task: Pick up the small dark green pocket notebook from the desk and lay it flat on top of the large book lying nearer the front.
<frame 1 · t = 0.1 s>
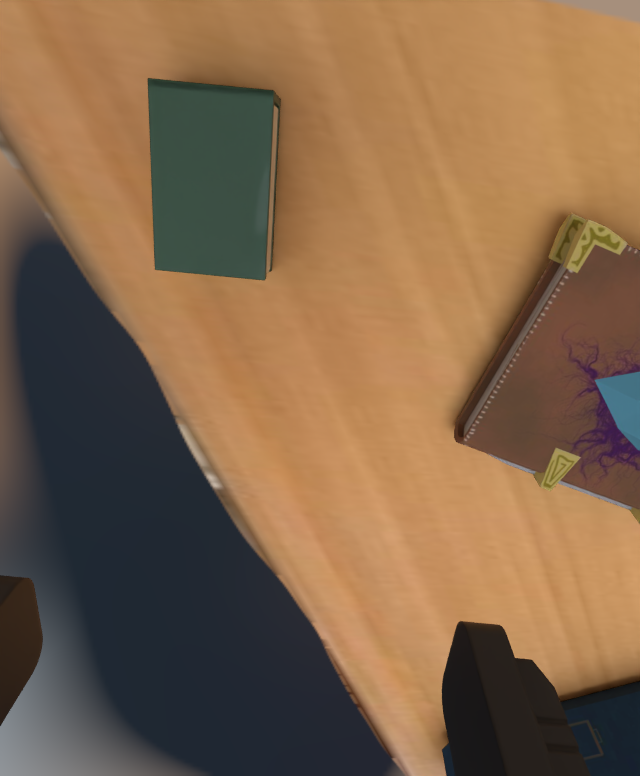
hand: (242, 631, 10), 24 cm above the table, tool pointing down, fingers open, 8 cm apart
radio: (564, 725, 45), on the table
notebook: (222, 184, 29), on the table
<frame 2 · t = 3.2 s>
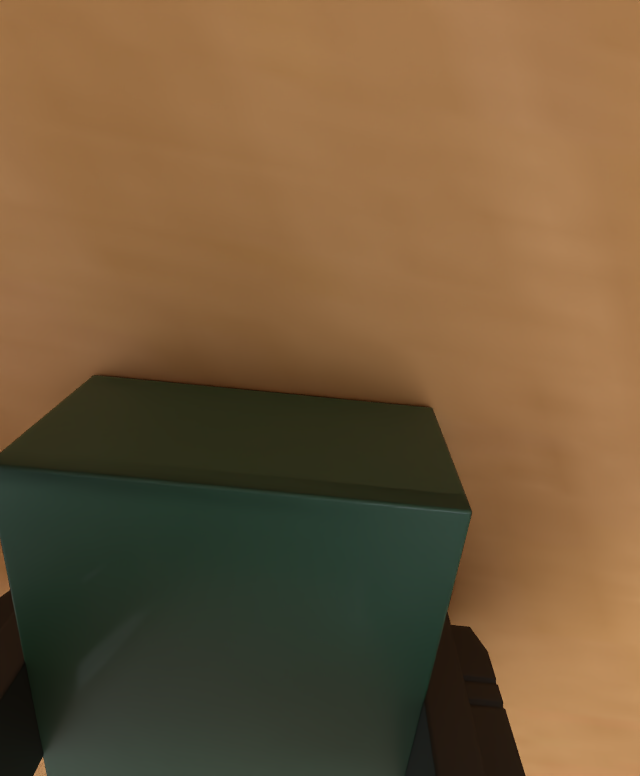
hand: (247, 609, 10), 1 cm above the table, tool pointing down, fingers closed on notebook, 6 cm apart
notebook: (253, 585, 11), on the table, touching gripper
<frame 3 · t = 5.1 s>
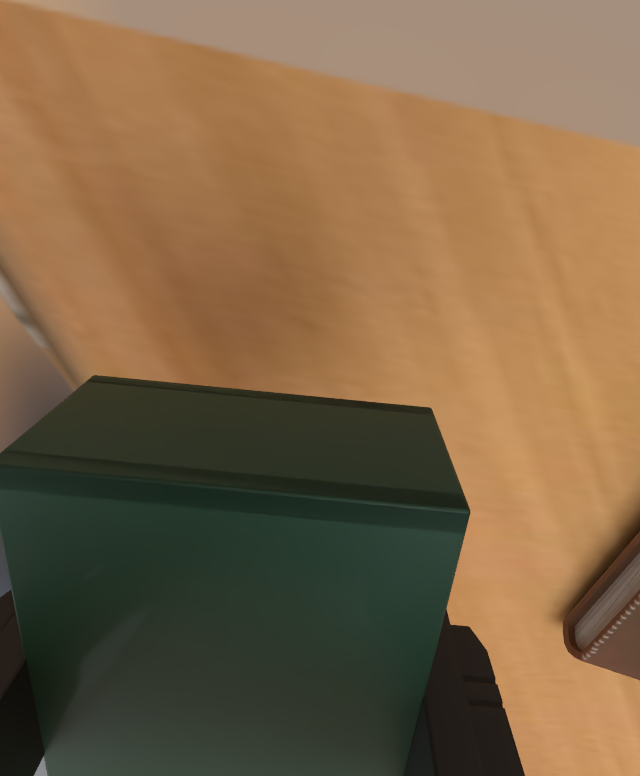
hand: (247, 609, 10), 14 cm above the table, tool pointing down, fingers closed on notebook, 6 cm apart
notebook: (253, 585, 11), point 14 cm above the table, touching gripper
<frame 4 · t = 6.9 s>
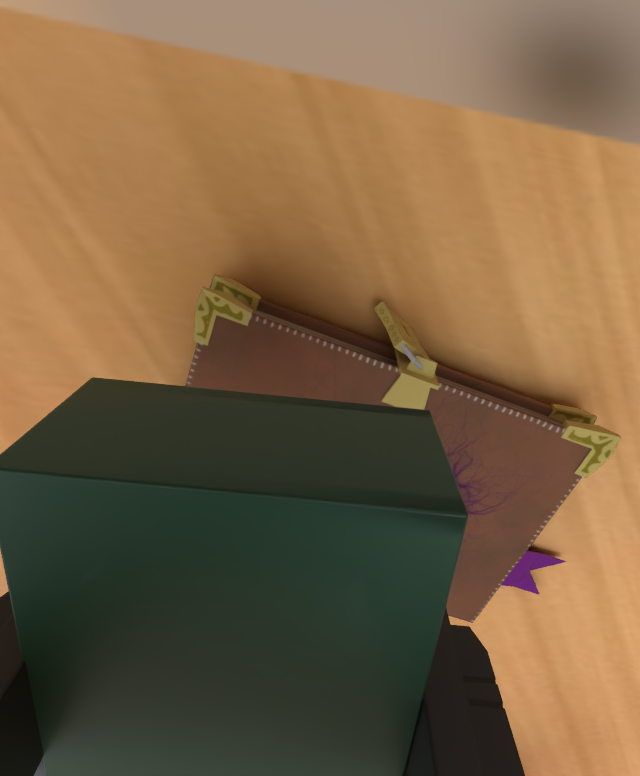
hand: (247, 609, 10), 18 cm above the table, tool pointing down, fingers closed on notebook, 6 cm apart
book: (395, 455, 29), on the table
notebook: (252, 587, 11), point 17 cm above the table, touching gripper
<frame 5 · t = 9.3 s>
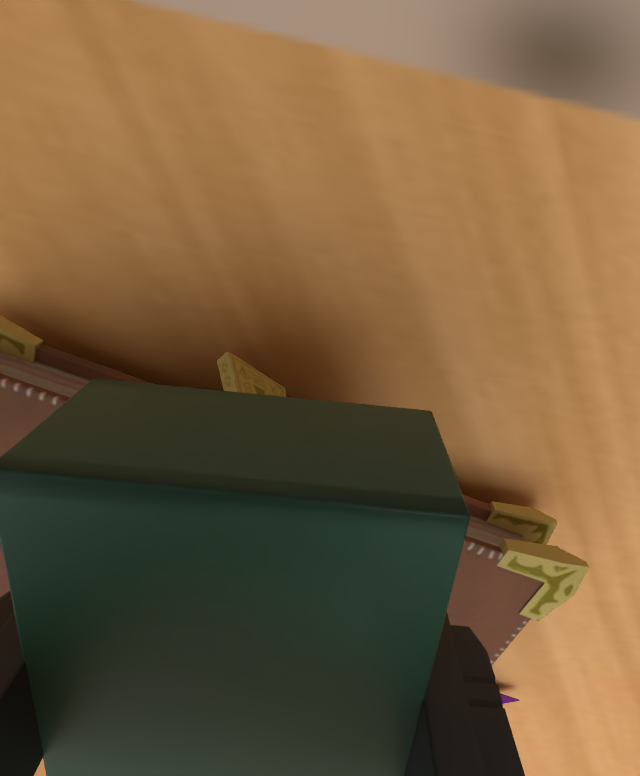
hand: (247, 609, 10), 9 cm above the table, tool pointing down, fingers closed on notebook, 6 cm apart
book: (278, 557, 21), on the table
notebook: (253, 587, 11), point 8 cm above the table, touching gripper
when the fingers open (5 cm above the table, at t = 10.8 s): notebook stays where it is, resting on book.
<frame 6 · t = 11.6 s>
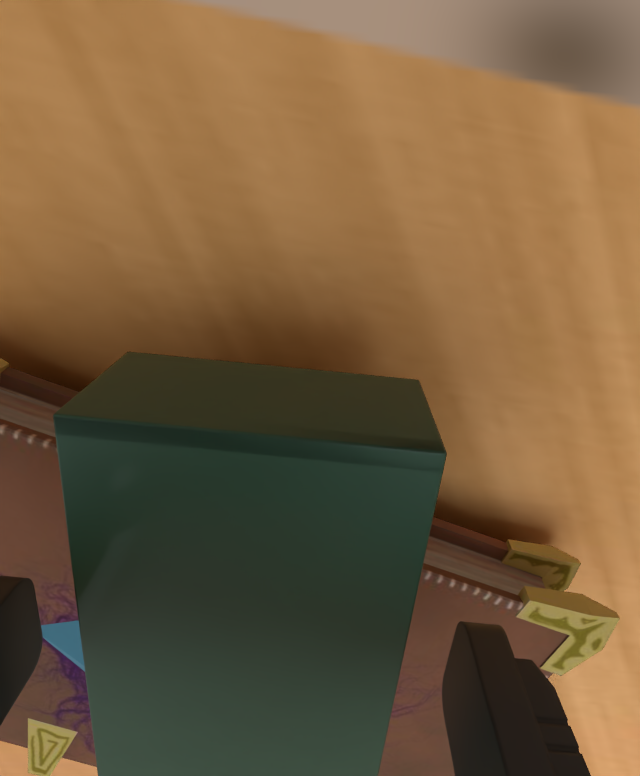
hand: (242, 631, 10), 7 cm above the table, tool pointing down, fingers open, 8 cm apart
book: (273, 595, 19), on the table, touching notebook
notebook: (263, 541, 12), point 5 cm above the table, touching book
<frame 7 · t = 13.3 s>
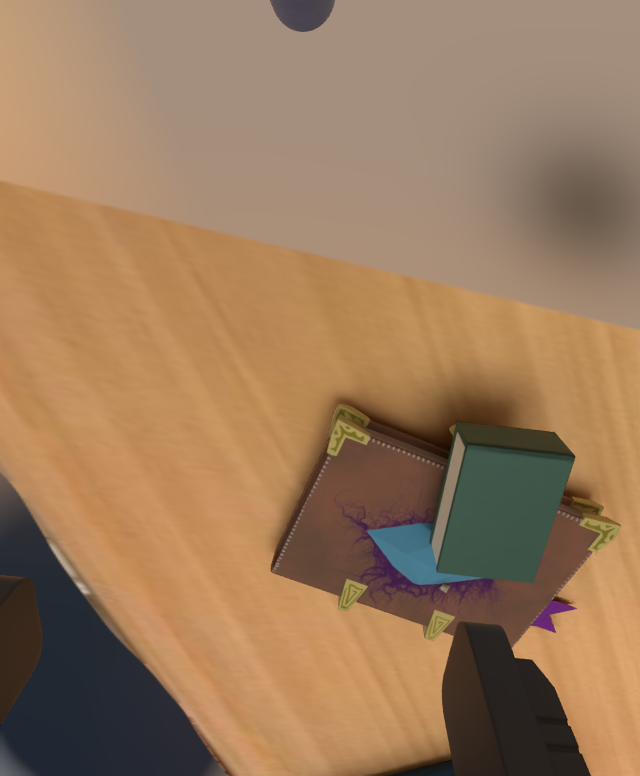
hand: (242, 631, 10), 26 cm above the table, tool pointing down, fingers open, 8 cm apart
book: (453, 526, 40), on the table, touching notebook
notebook: (488, 489, 33), point 5 cm above the table, touching book
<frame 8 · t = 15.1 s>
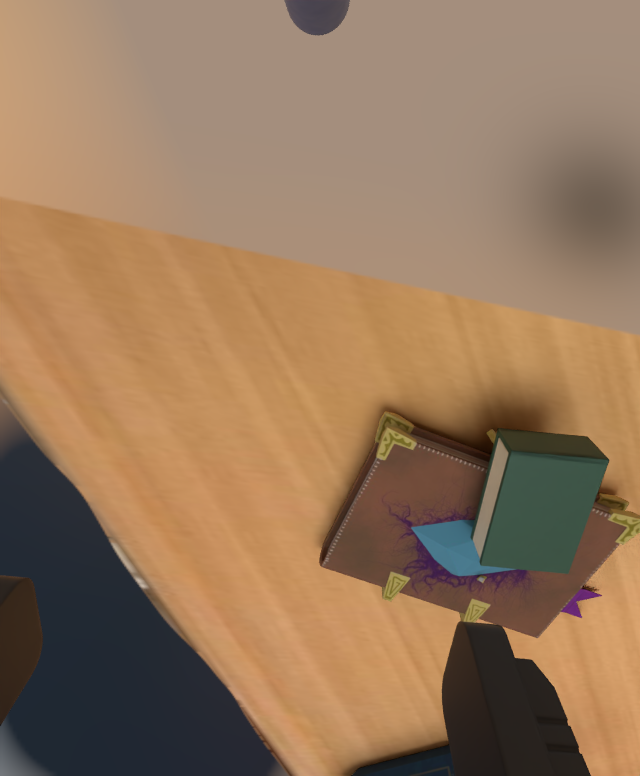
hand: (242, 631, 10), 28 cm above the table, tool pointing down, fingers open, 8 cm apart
book: (487, 521, 43), on the table, touching notebook
radio: (440, 767, 55), on the table
notebook: (526, 489, 36), point 5 cm above the table, touching book
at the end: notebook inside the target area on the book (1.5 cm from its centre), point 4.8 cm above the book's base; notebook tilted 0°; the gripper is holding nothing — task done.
